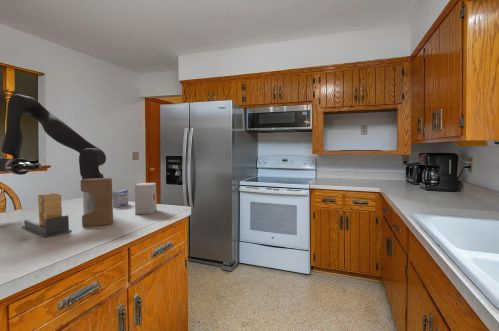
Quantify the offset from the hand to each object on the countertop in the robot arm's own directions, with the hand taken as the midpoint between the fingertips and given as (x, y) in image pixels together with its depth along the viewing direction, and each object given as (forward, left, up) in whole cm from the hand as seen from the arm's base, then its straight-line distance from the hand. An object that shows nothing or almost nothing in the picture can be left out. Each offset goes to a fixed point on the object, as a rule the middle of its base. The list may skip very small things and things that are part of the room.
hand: (31, 167), depth 117 cm
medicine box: (-34, -28, -25) cm, 51 cm away
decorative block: (-25, +11, -25) cm, 37 cm away
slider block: (-9, +15, -24) cm, 30 cm away
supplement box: (-46, -4, -25) cm, 53 cm away
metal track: (-6, +10, -25) cm, 28 cm away
